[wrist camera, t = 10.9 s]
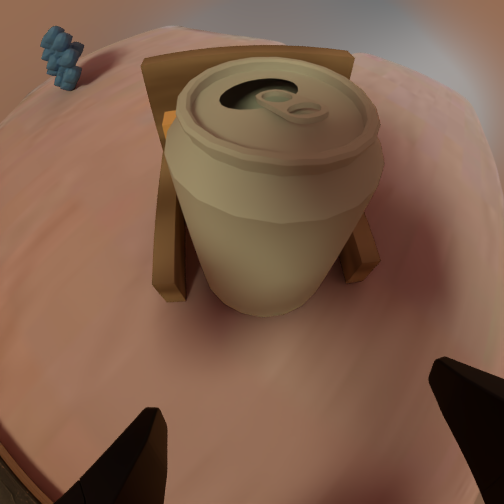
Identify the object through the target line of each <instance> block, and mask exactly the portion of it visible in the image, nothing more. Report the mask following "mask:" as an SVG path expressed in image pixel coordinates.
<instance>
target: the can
mask: <svg viewBox="0 0 504 504" xmlns="http://www.w3.org/2000/svg"><path fill="white" fill-rule="evenodd" d="M379 128H380V120H379V117H378V113H377V109H376V107H375V106H374V104H373V103H372V102H371V100H370V99H369V98H368V96H367V95H366V94H365V92H364V91H363V90H362V89H361V88H359V87H358V86H357V85H355V84H354V83H353V82H351V81H350V80H349V79H347V78H346V77H344V76H342V75H340V74H338V73H336V72H334V71H332V70H330V69H328V68H326V67H323V66H320V65H316V64H313V63H309V62H306V61H302V60H297V59H290V58H282V57H250V58H244V59H238V60H233V61H228V62H225V63H222V64H220V65H217V66H214V67H212V68H209V69H207V70H205V71H204V72H202V73H201V74H199V75H198V76H196V77H195V78H193V79H192V80H190V81H189V82H188V84H187V85H186V86H185V88H184V89H183V90H182V92H181V93H180V94H179V96H178V99H177V106H176V118H175V120H174V121H173V123H172V124H171V126H170V128H169V129H168V131H167V136H166V143H165V152H164V154H165V158H166V161H167V164H168V168H169V171H170V174H171V177H172V181H173V184H174V187H175V190H176V193H177V197H178V200H179V203H180V206H181V209H182V212H183V215H184V218H185V221H186V224H187V227H188V230H189V233H190V236H191V239H192V242H193V245H194V247H195V250H196V253H197V256H198V259H199V262H200V264H201V267H202V270H203V273H204V275H205V277H206V280H207V282H208V284H209V287H210V289H211V290H212V291H213V292H214V293H215V294H216V296H217V297H218V298H219V299H220V300H221V301H222V302H223V303H224V304H226V305H227V306H229V307H231V308H233V309H235V310H237V311H239V312H240V313H242V314H248V315H253V316H259V317H270V316H277V315H284V314H286V313H288V312H290V311H292V310H294V309H296V308H298V307H300V306H302V305H303V304H304V303H305V302H306V301H307V300H308V299H309V298H310V297H311V296H312V295H313V294H314V293H315V292H316V291H317V289H318V288H319V286H320V285H321V283H322V281H323V280H324V278H325V277H326V275H327V273H328V272H329V270H330V269H331V267H332V265H333V264H334V262H335V260H336V259H337V257H338V256H339V254H340V252H341V251H342V249H343V247H344V246H345V244H346V242H347V240H348V239H349V237H350V235H351V234H352V232H353V230H354V228H355V227H356V225H357V223H358V221H359V220H360V218H361V216H362V214H363V213H364V211H365V209H366V207H367V205H368V203H369V202H370V200H371V198H372V196H373V194H374V192H375V190H376V189H377V187H378V184H379V181H380V177H381V174H382V171H383V167H384V159H383V153H382V148H381V143H380V141H379V139H378V137H377V134H378V131H379Z"/></svg>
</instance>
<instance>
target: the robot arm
mask: <svg viewBox="0 0 504 504" xmlns="http://www.w3.org/2000/svg"><path fill="white" fill-rule="evenodd" d="M428 380H429V384H430V386H431V389H432V391H433V393H434V395H435V398H436V400H437V402H438V405H439V407H440V410H441V412H442V414H443V416H444V418H445V420H446V422H447V424H448V426H449V428H450V430H451V431H452V433H453V435H454V437H455V439H456V441H457V443H458V445H459V447H460V449H461V451H462V453H463V455H464V457H465V459H466V461H467V463H468V466H469V468H470V470H471V472H472V474H473V476H474V479H475V481H476V483H477V485H478V488H479V490H480V492H481V495H482V497H483V500H484V502H485V504H504V379H503V378H500V377H497V376H495V375H492V374H489V373H487V372H484V371H481V370H479V369H476V368H474V367H471V366H468V365H466V364H463V363H461V362H458V361H456V360H453V359H451V358H448V357H441V358H438V359H436V360H435V361H434V363H433V366H432V369H431V372H430V374H429V378H428ZM166 479H167V424H166V422H165V420H164V417H163V415H162V413H161V411H160V409H159V408H156V407H147V408H145V409H144V410H143V411H142V412H141V413H140V414H139V415H138V416H137V417H136V418H135V420H134V421H133V422H132V423H131V424H130V425H129V426H128V427H127V428H126V429H125V431H124V432H123V433H122V434H121V435H120V436H119V437H118V438H117V439H116V440H115V441H114V443H113V444H112V445H111V446H110V447H109V448H108V449H107V450H106V451H105V452H104V453H103V454H102V455H101V457H100V458H99V459H98V460H97V461H96V462H95V463H94V464H93V465H92V466H91V467H90V468H89V469H88V470H87V471H86V472H85V474H84V475H83V476H82V477H81V478H80V481H79V480H78V481H77V482H76V483H75V484H74V485H73V486H72V487H71V488H70V489H69V490H68V491H67V492H66V493H65V494H64V495H63V496H62V497H61V498H59V499H58V500H57V501H56V502H55V503H53V504H164V496H165V487H166Z"/></svg>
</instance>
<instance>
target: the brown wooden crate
mask: <svg viewBox="0 0 504 504" xmlns="http://www.w3.org/2000/svg"><path fill="white" fill-rule="evenodd" d="M250 57H282V58H290V59H297V60H302V61H306V62H309V63H313V64H316V65H320V66H323V67H326V68H328V69H330V70H332V71H334V72H336V73H338V74H340V75H342V76H344V77H346V78H347V79H349V80H350V76H351V72H352V67H353V63H354V59H355V58H354V57H353V56H352V55H351V54H350V53H349V52H348V51H344V50H336V49H328V48H316V47H305V46H283V45H252V46H230V47H217V48H206V49H198V50H190V51H183V52H176V53H170V54H164V55H159V56H154V57H149V58H145V59H144V60H143V62H142V64H141V70H142V74H143V78H144V82H145V86H146V90H147V94H148V98H149V102H150V105H151V109H152V113H153V117H154V120H155V124H156V127H157V131H158V135H159V138H160V142H161V145H162V148H163V156H162V163H161V171H160V179H159V188H158V198H157V208H156V220H155V233H154V249H153V272H152V285H153V287H154V288H155V289H156V290H157V291H158V292H159V294H160V295H161V296H162V297H163V298H164V299H165V301H166V302H180V301H186V285H185V218H184V215H183V212H182V209H181V206H180V203H179V200H178V197H177V193H176V190H175V187H174V184H173V181H172V177H171V174H170V171H169V168H168V164H167V161H166V158H165V154H164V152H165V143H166V139H165V135H164V131H163V127H162V123H163V118H164V113H165V112H168V111H174V110H176V106H177V99H178V96H179V94H180V93H181V92H182V90H183V89H184V88H185V86H186V85H187V84H188V82H189V81H190V80H192V79H193V78H195V77H196V76H198V75H199V74H201V73H202V72H204V71H205V70H207V69H209V68H212V67H214V66H217V65H220V64H222V63H225V62H228V61H233V60H238V59H244V58H250ZM339 258H340V261H341V265H342V269H343V273H344V277H345V281H346V283H352V282H359V281H363V280H364V279H365V278H366V277H367V276H368V275H369V273H370V272H371V271H372V270H373V269H374V268H375V267H376V266H377V265H378V263H379V262H380V261H381V260H380V257H379V254H378V251H377V248H376V244H375V241H374V238H373V236H372V233H371V230H370V227H369V224H368V221H367V218H366V216H365V213H363V214H362V216H361V218H360V220H359V221H358V223H357V225H356V227H355V228H354V230H353V232H352V234H351V235H350V237H349V239H348V240H347V242H346V244H345V246H344V247H343V249H342V251H341V252H340V254H339Z"/></svg>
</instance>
